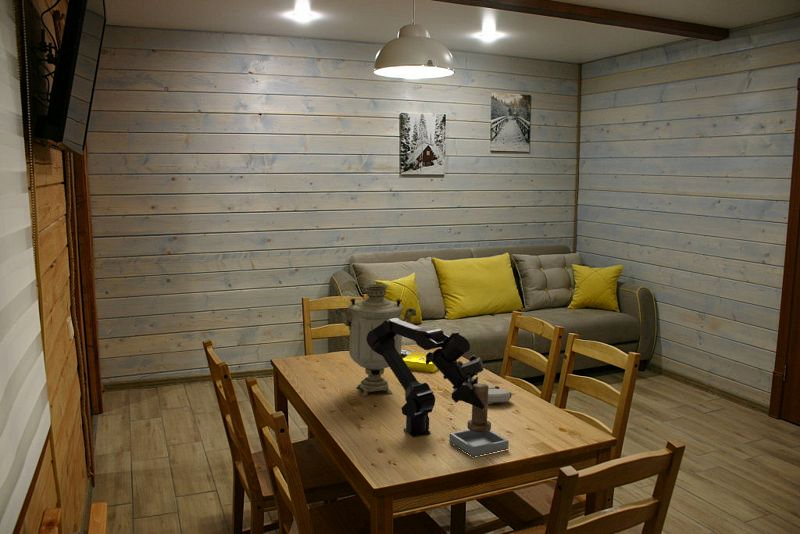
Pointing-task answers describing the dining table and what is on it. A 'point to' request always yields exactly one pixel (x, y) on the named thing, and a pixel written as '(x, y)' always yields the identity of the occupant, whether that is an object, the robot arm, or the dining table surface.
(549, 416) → the dining table surface
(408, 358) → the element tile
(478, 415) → the handle
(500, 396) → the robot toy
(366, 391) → the samovar
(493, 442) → the box
